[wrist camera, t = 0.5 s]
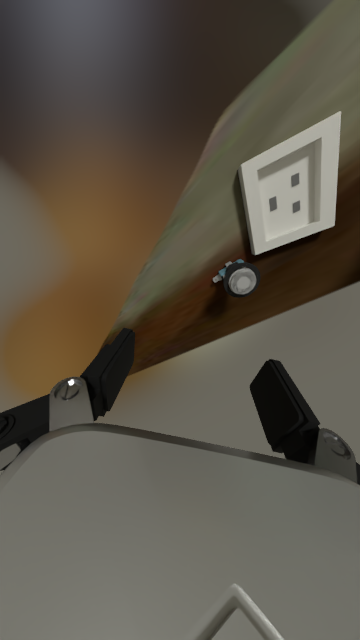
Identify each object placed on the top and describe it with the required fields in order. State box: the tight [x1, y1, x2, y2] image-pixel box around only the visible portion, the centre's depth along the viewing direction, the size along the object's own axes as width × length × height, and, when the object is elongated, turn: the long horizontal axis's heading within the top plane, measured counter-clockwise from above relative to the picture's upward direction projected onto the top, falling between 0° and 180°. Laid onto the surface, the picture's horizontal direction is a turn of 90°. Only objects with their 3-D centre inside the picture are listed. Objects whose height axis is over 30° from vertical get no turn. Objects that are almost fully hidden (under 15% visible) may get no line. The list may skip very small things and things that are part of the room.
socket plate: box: [238, 111, 341, 255], centre depth 24 cm, size 12×13×2 cm
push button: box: [213, 259, 260, 297], centre depth 27 cm, size 7×5×10 cm
